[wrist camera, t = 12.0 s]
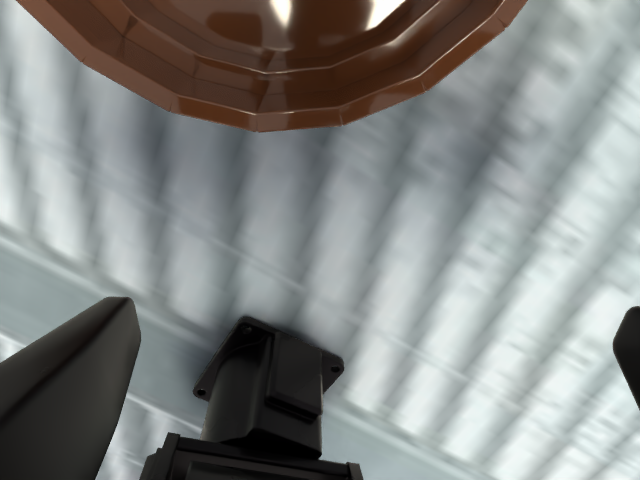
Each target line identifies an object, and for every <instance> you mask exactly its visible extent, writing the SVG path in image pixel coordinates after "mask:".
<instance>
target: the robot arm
mask: <svg viewBox="0 0 640 480" xmlns="http://www.w3.org/2000/svg"><path fill="white" fill-rule="evenodd" d="M243 326H248V327H250V328H244V327H243ZM140 343H141V331H140V326H139V322H138V318H137V313H136V309H135V304H134V302H133V300H132V299H131V298H129V297H106V298H104V299H103V300H101V301H99V302H98V303H96V304H94V305H93V306H91V307H90V308H88V309H86V310H85V311H83V312H82V313H80V314H78V315H77V316H75V317H74V318H72V319H70V320H69V321H67V322H65V323H64V324H62V325H61V326H59V327H57V328H56V329H54V330H53V331H51V332H49V333H48V334H46V335H44V336H43V337H41V338H40V339H38V340H36V341H35V342H33V343H32V344H30V345H28V346H27V347H25V348H24V349H22V350H20V351H19V352H17V353H15V354H14V355H12V356H11V357H9V358H7V359H6V360H4V361H3V362H1V363H0V480H95V478H96V476H97V474H98V471H99V469H100V466H101V464H102V461H103V459H104V456H105V454H106V452H107V449H108V447H109V444H110V442H111V439H112V437H113V434H114V432H115V429H116V426H117V424H118V420H119V417H120V414H121V411H122V407H123V404H124V400H125V397H126V393H127V390H128V386H129V383H130V379H131V376H132V372H133V368H134V365H135V361H136V358H137V354H138V351H139V347H140ZM613 351H614V354H615V357H616V359H617V361H618V363H619V366H620V368H621V370H622V372H623V374H624V377H625V379H626V381H627V383H628V385H629V388H630V390H631V392H632V394H633V396H634V399H635V401H636V403H637V405H638V408H639V410H640V306H635V307H632V308H630V309H629V310H628V311H627V312H626V314H625V316H624V318H623V320H622V322H621V325H620V327H619V329H618V331H617V333H616V335H615V337H614V340H613ZM332 366H337V367H332ZM343 371H344V362H343V360H342V359H340V358H338V357H336V356H334V355H332V354H330V353H327V352H325V351H323V350H321V349H319V348H316V347H314V346H312V345H310V344H307V343H305V342H303V341H301V340H299V339H296V338H294V337H292V336H290V335H288V334H285V333H283V332H281V331H279V330H277V329H274V328H272V327H270V326H268V325H265V324H263V323H261V322H259V321H257V320H254V319H252V318H249V317H243V318H240V319H239V320H238V322H237V323H236V324H235V326H234V327H233V329H232V330H231V332H230V333H229V335H228V336H227V338H226V339H225V341H224V342H223V344H222V345H221V347H220V348H219V349H218V351H217V352H216V354H215V355H214V357H213V358H212V360H211V361H210V363H209V364H208V366H207V367H206V369H205V370H204V372H203V373H202V375H201V376H200V377H199V379H198V380H197V382H196V383H195V386H194V389H193V394H194V395H195V396H196V397H198V398H200V399H203V400H205V401H208V402H209V405H208V409H207V413H206V417H205V421H204V425H203V429H202V433H201V437H200V440H198V439H192V438H186V437H180V435H181V434H175V433H169V432H168V434H167V437H166V439H165V442H164V445H163V447H162V448H158V449H157V451H156V453H155V454H152V455H150V456H147V459H146V462H145V465H144V468H143V471H142V473H141V476H140V479H139V480H363V476H362V473H361V469H360V466H359V464H356V463H350V462H347V463H346V464H343V463H337V462H331V461H325V460H319V458H320V457H321V455H322V432H321V415H322V413H323V394H324V393H325V392H326V390H327V389H328V388H329V387H330V386H331V385H332V384H333V383H334V382H335V380H336V379H337V378H338V377H339V376H340V375H341V374H342V373H343ZM201 389H202V390H201Z"/></svg>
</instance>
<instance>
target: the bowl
mask: <svg viewBox="0 0 640 480" xmlns="http://www.w3.org/2000/svg"><path fill="white" fill-rule="evenodd" d="M16 1H17V2H18V3H19V4H20V5H21V6H22V7H23V8H24V9H26V10H27V11H28V12H29V13H30V14H31V15H32V16H33V17H34V18H35V19H36V20H37V21H38V22H39V23H40V24H41V25H42V26H43V27H44V28H46V29H47V30H48V31H49V32H50V33H51V34H52V35H53V36H54V37H55V38H56V39H57V40H58V41H59V42H60V43H61V44H62V45H63V46H64V47H66V48H67V49H68V50H69V51H70V52H71V53H72V54H73V55H74V56H75V57H76V58H77V59H78V60H79V61H80V62H83V64H84V65H86V66H88V67H90V68H92V69H93V70H95V71H97V72H99V73H101V74H102V75H104V76H106V77H108V78H109V79H111V80H113V81H115V82H117V83H118V84H120V85H122V86H124V87H125V88H127V89H129V90H131V91H133V92H134V93H136V94H138V95H140V96H141V97H143V98H145V99H147V100H149V101H150V102H152V103H154V104H156V105H158V106H159V107H161V108H163V109H165V110H166V111H169V112H170V111H171V112H172V113H175V114H179V115H184V116H188V117H192V118H196V119H201V120H205V121H209V122H214V123H218V124H222V125H226V126H231V127H235V128H239V129H243V130H248V131H252V132H273V131H286V130H299V129H312V128H325V127H339V126H342V125H347V124H349V123H352V122H354V121H357V120H359V119H362V118H364V117H367V116H369V115H372V114H374V113H377V112H379V111H382V110H384V109H387V108H389V107H392V106H394V105H396V104H399V103H401V102H404V101H406V100H409V99H411V98H414V97H416V96H419V95H421V94H424V93H425V91H429V90H430V89H431V88H432V87H434V86H435V85H436V84H437V83H439V82H440V81H441V80H443V79H444V78H445V77H446V76H448V75H449V74H450V73H451V72H453V71H454V70H455V69H456V68H458V67H459V66H460V65H461V64H463V63H464V62H465V61H466V60H468V59H469V58H470V57H471V56H473V55H474V54H475V53H476V52H478V51H479V50H480V49H481V48H483V47H484V46H485V45H487V44H488V43H489V42H490V41H492V40H493V39H494V38H495V37H497V36H498V35H499V34H500V33H502V32H503V31H504V30H505V28H507V27H508V26H509V25H510V24H511V22H512V21H513V20H514V18H515V17H516V16H517V14H518V13H519V12H520V10H521V9H522V8H523V6H524V5H525V4H526V2H527V1H528V0H16Z"/></svg>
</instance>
